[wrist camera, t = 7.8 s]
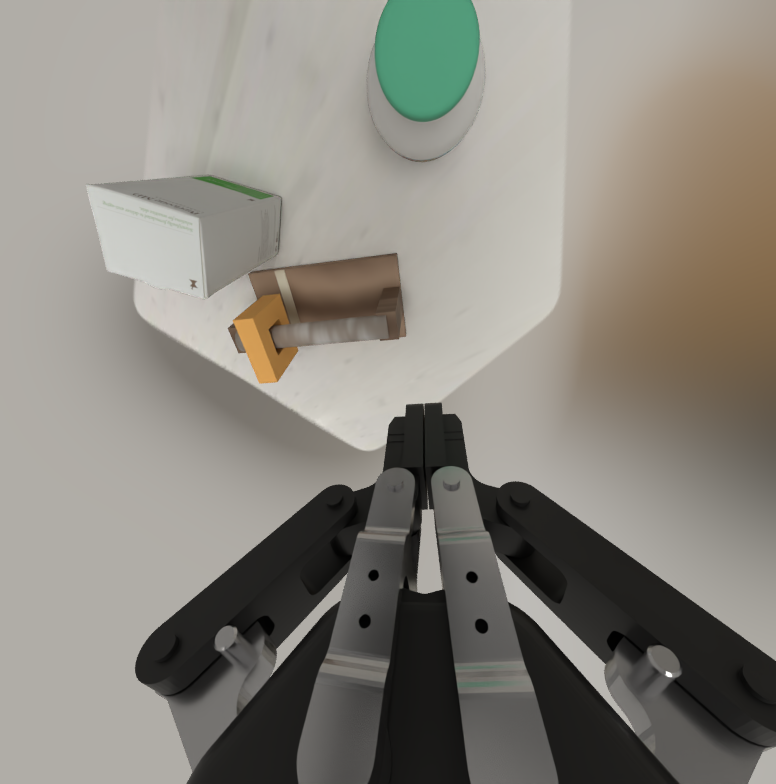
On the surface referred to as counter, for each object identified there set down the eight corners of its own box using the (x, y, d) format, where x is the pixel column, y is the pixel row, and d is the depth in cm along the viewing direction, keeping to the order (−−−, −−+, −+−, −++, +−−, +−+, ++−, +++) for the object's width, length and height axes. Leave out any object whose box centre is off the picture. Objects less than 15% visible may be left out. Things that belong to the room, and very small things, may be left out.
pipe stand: (251, 271, 40) (206, 300, 32) (396, 253, 38) (389, 279, 29) (277, 345, 46) (245, 386, 37) (405, 333, 43) (402, 374, 35)
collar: (262, 295, 36) (232, 320, 30) (279, 293, 36) (252, 318, 30) (282, 352, 40) (259, 383, 34) (298, 350, 40) (277, 382, 34)
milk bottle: (387, 46, 28) (340, -118, 12) (476, 59, 28) (552, -86, 12) (378, 156, 33) (334, 148, 16) (455, 167, 33) (488, 170, 16)
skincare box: (283, 197, 35) (205, 215, 23) (278, 258, 39) (210, 305, 26) (205, 172, 35) (79, 177, 22) (208, 237, 38) (102, 274, 26)
